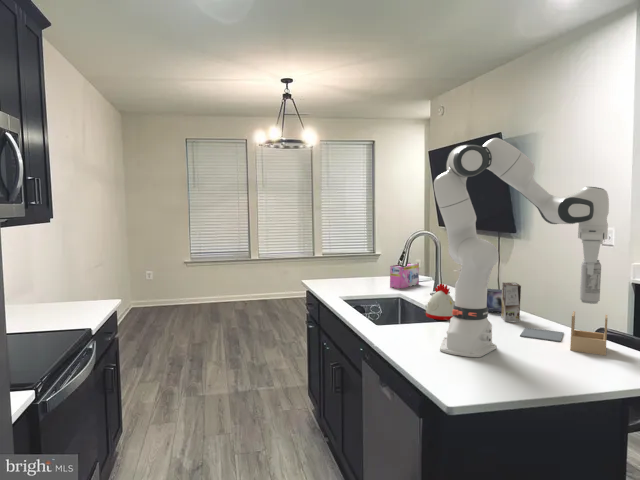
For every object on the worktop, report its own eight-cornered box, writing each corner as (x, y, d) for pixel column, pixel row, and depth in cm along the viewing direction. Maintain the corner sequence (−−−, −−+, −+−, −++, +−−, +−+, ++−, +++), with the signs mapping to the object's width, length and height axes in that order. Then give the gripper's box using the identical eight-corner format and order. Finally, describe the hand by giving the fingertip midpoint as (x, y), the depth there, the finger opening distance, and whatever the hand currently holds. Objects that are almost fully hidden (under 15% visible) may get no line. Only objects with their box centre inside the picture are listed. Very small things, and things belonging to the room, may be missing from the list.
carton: (605, 355, 157) (607, 320, 156) (570, 350, 162) (571, 316, 162) (605, 347, 166) (607, 314, 165) (572, 342, 171) (573, 310, 171)
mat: (560, 342, 172) (560, 340, 172) (519, 336, 180) (520, 335, 179) (563, 333, 184) (563, 332, 184) (525, 328, 191) (525, 327, 191)
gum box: (409, 282, 307) (409, 262, 306) (420, 284, 301) (420, 263, 300) (389, 287, 289) (389, 265, 288) (400, 289, 283) (400, 266, 282)
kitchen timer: (441, 321, 203) (442, 287, 202) (419, 315, 215) (420, 283, 214) (463, 317, 211) (464, 284, 210) (440, 311, 222) (441, 280, 221)
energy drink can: (596, 301, 165) (598, 259, 164) (602, 304, 160) (604, 261, 158) (577, 300, 167) (579, 258, 166) (582, 303, 161) (584, 260, 160)
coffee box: (520, 322, 202) (521, 285, 200) (504, 321, 203) (505, 285, 202) (515, 317, 210) (516, 282, 209) (500, 316, 212) (501, 281, 211)
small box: (482, 312, 221) (483, 290, 221) (483, 309, 227) (484, 288, 227) (506, 314, 217) (507, 292, 217) (506, 311, 223) (507, 289, 223)
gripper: (583, 232, 172) (581, 269, 173) (580, 234, 155) (578, 276, 156) (603, 232, 169) (601, 270, 170) (603, 235, 151) (600, 277, 152)
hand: (590, 273), depth 162 cm, fingers closed on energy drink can, 6 cm apart
